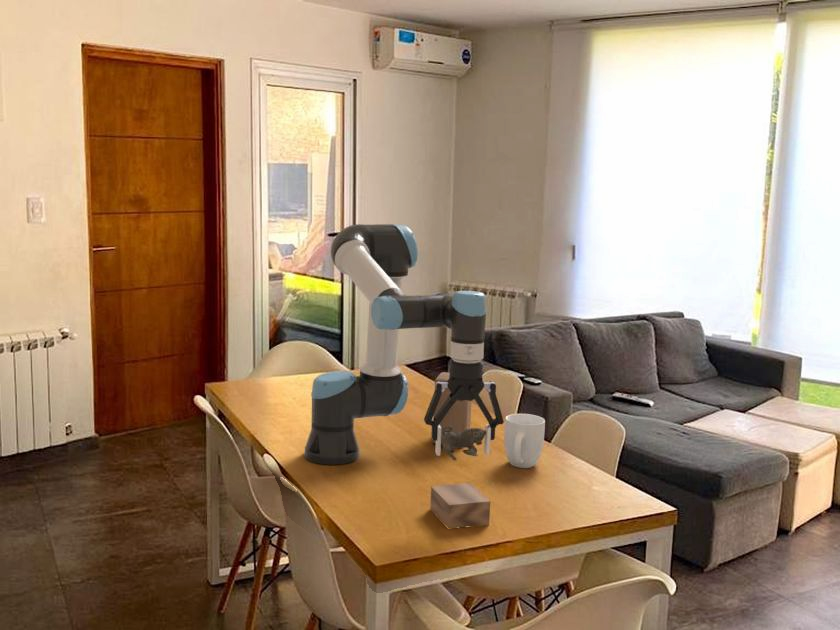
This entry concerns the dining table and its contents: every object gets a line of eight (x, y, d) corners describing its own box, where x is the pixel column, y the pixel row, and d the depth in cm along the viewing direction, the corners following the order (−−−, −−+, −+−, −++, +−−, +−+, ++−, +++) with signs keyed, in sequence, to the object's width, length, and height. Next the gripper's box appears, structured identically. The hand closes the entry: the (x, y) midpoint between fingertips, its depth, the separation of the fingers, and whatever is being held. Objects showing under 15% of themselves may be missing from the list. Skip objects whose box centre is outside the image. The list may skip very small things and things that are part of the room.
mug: (536, 478, 227) (539, 430, 225) (495, 472, 231) (498, 425, 229) (545, 461, 242) (548, 416, 239) (507, 455, 245) (509, 411, 243)
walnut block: (448, 530, 192) (449, 505, 191) (430, 510, 203) (431, 486, 202) (489, 526, 195) (490, 501, 194) (469, 506, 207) (470, 482, 206)
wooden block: (465, 448, 250) (468, 381, 247) (431, 444, 252) (434, 378, 249) (470, 438, 260) (473, 373, 257) (437, 434, 262) (440, 371, 259)
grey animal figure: (447, 462, 191) (448, 430, 190) (435, 454, 196) (436, 423, 195) (492, 455, 197) (494, 424, 196) (479, 448, 202) (480, 417, 201)
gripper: (417, 363, 188) (414, 459, 192) (520, 363, 191) (515, 458, 195) (413, 355, 195) (410, 448, 199) (512, 356, 199) (507, 448, 202)
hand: (462, 453), depth 197 cm, fingers closed on grey animal figure, 11 cm apart
